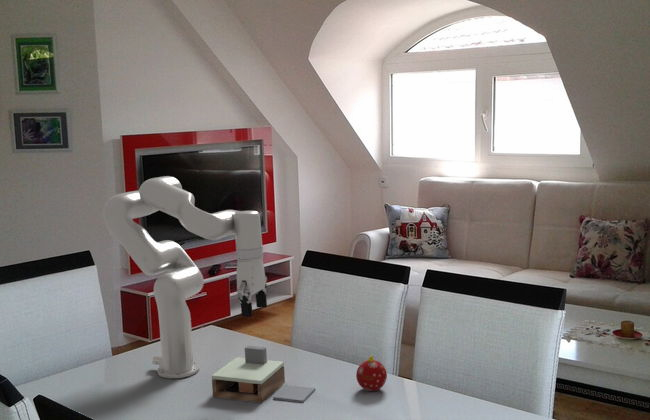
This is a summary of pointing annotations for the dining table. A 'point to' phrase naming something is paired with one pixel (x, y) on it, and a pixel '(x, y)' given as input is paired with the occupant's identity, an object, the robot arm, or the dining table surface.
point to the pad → (294, 393)
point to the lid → (249, 367)
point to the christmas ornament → (371, 375)
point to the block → (247, 387)
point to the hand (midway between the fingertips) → (254, 311)
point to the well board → (263, 394)
